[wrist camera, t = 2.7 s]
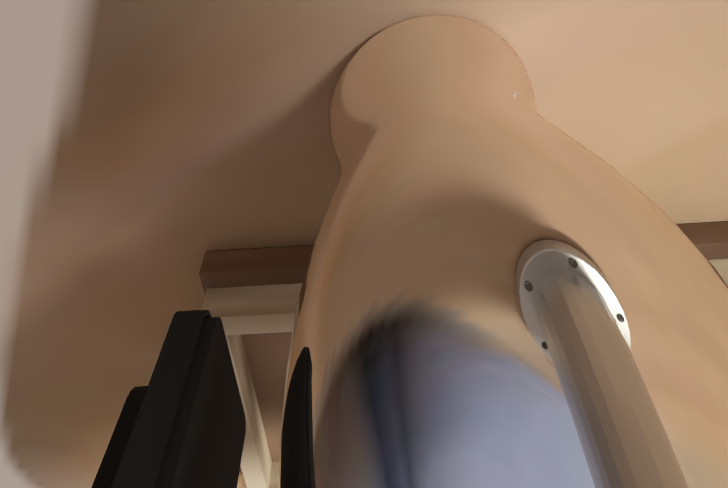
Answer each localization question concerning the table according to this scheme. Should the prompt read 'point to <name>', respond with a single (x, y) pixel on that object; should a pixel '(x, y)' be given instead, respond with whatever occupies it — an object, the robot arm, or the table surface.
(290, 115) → the table surface
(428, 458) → the silver piece
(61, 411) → the table surface
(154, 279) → the table surface
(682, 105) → the table surface
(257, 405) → the divided sorting tray
